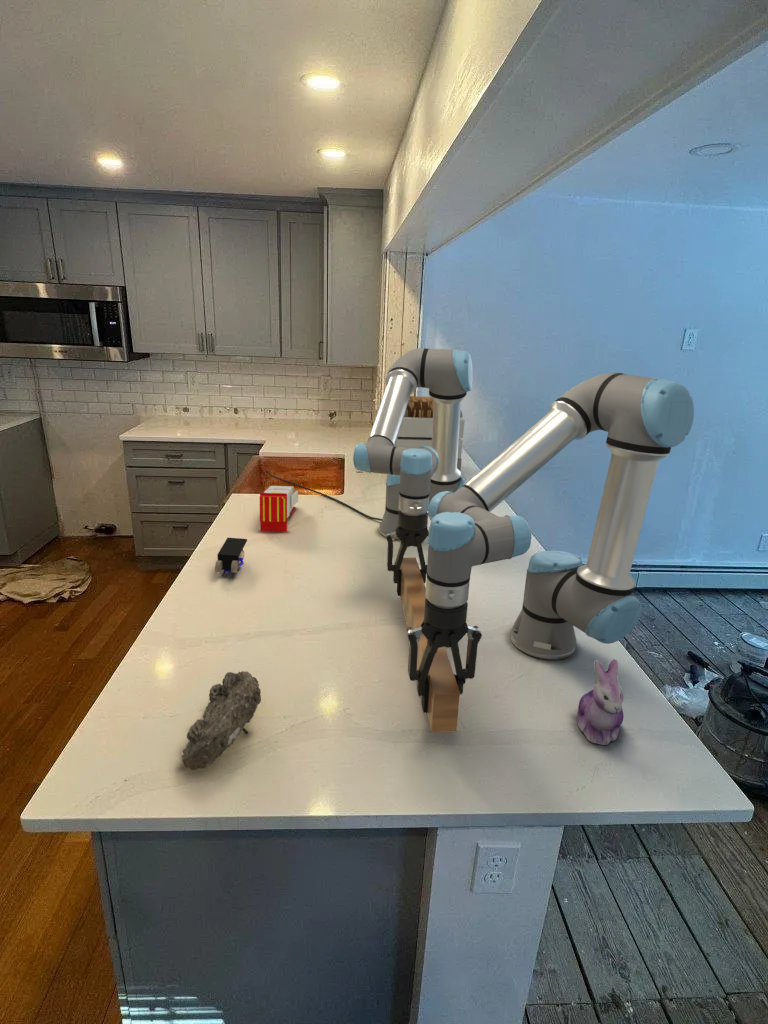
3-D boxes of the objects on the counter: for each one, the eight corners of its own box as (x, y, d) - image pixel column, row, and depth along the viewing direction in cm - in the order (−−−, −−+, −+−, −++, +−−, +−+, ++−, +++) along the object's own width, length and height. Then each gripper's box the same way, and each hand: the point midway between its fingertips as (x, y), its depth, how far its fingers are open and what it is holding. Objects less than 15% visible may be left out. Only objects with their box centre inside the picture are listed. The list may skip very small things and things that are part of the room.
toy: (300, 481, 221) (289, 494, 192) (300, 514, 224) (289, 533, 194) (268, 480, 221) (253, 493, 191) (269, 514, 223) (254, 532, 194)
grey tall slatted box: (382, 463, 289) (386, 382, 275) (445, 464, 293) (451, 384, 279) (390, 482, 257) (394, 392, 243) (460, 483, 261) (468, 394, 247)
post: (397, 585, 156) (398, 557, 153) (414, 585, 156) (415, 557, 153) (431, 732, 102) (434, 693, 99) (456, 731, 103) (460, 693, 100)
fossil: (206, 672, 114) (260, 639, 109) (238, 703, 117) (292, 672, 112) (156, 763, 94) (219, 728, 89) (197, 797, 97) (260, 766, 92)
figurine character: (238, 584, 162) (249, 557, 175) (236, 562, 158) (247, 536, 172) (215, 584, 161) (227, 556, 175) (212, 561, 158) (225, 535, 171)
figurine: (602, 755, 103) (617, 685, 98) (562, 719, 111) (574, 654, 106) (638, 739, 107) (654, 672, 102) (596, 706, 116) (609, 643, 110)
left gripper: (379, 516, 138) (376, 600, 146) (451, 516, 139) (444, 600, 148) (377, 505, 145) (374, 586, 153) (445, 506, 146) (439, 586, 155)
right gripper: (398, 611, 95) (394, 722, 104) (501, 609, 97) (489, 719, 105) (394, 589, 102) (390, 696, 111) (490, 588, 104) (479, 693, 112)
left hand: (408, 593), depth 150 cm, fingers closed on post, 5 cm apart
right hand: (438, 707), depth 108 cm, fingers closed on post, 5 cm apart
